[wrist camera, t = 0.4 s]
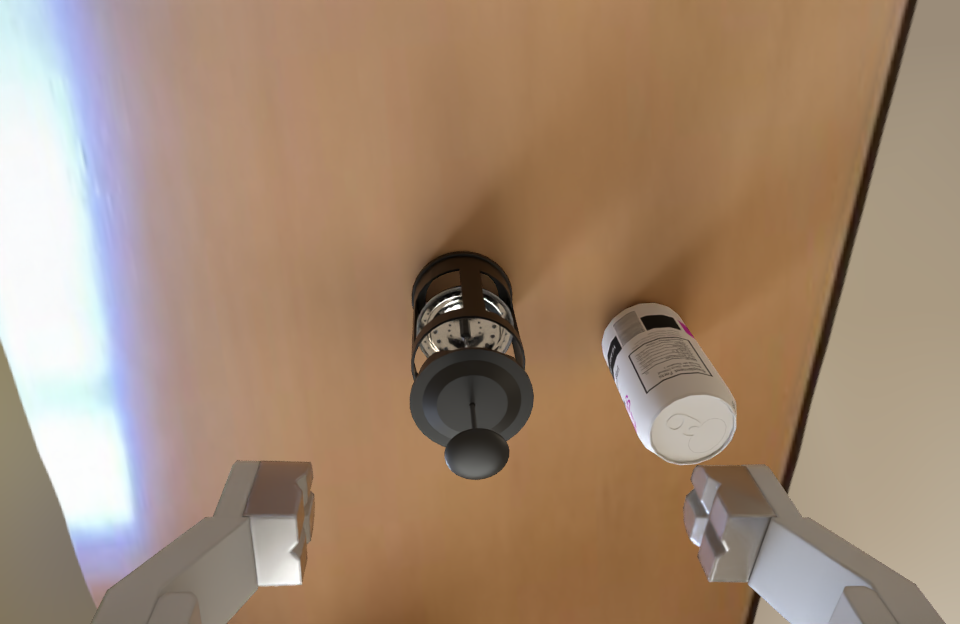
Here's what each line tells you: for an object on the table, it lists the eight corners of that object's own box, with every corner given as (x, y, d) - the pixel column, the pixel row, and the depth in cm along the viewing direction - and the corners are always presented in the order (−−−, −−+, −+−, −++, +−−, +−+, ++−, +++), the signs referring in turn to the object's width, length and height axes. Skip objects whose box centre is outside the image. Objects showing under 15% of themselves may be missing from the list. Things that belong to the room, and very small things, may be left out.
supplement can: (698, 319, 67) (765, 410, 54) (651, 382, 70) (702, 483, 57) (630, 286, 65) (682, 372, 52) (584, 353, 68) (622, 450, 55)
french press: (416, 239, 61) (410, 384, 41) (520, 249, 62) (564, 394, 42) (406, 351, 66) (396, 528, 46) (501, 358, 68) (533, 534, 47)
